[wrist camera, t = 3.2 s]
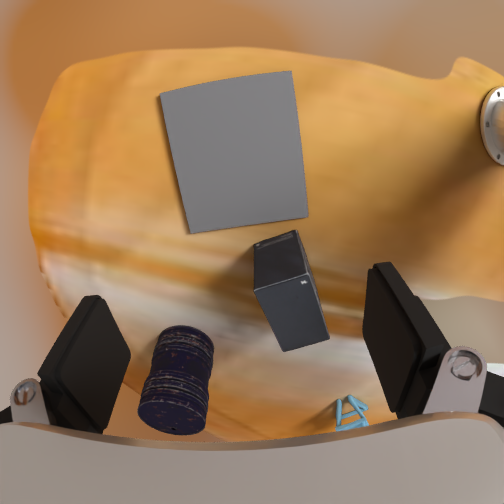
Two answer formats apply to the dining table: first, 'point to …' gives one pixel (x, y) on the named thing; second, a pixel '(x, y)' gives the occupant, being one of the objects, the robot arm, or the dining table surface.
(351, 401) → the chair
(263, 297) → the small box
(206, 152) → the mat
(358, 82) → the dining table surface
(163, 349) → the storage jar
